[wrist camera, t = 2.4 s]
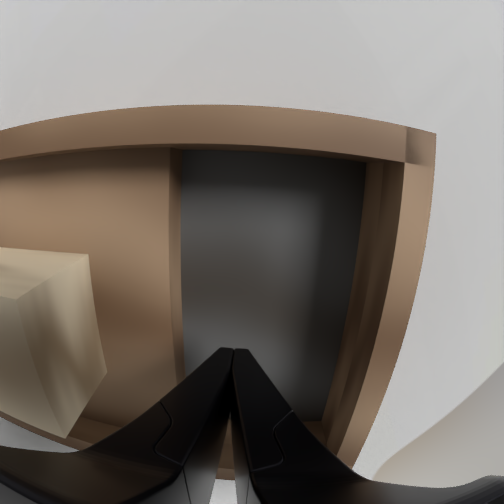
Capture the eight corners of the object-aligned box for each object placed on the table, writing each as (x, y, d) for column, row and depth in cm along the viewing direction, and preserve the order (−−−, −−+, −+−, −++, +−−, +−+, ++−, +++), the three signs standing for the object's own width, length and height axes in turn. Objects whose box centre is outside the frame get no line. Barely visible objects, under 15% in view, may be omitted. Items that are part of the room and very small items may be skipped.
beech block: (107, 372, 11) (65, 438, 7) (21, 349, 11) (-27, 396, 7) (88, 254, 10) (16, 299, 6) (-2, 247, 10) (-68, 277, 6)
